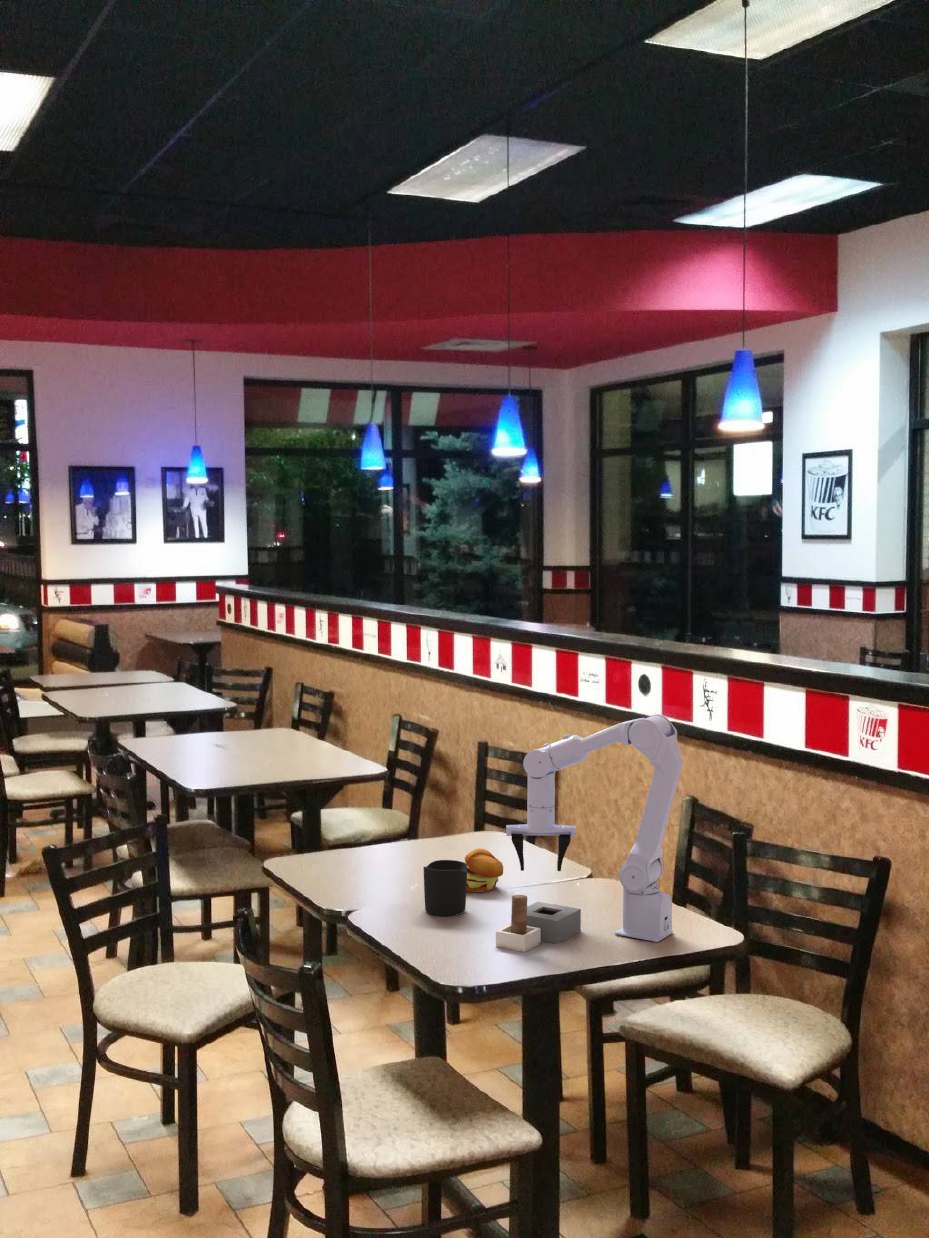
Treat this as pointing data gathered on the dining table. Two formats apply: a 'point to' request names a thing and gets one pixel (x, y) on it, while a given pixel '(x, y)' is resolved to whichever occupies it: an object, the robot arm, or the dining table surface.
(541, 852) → the dining table surface
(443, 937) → the dining table surface
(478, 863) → the cheeseburger
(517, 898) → the brown wooden cylinder
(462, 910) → the pen holder
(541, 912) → the box
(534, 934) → the box
